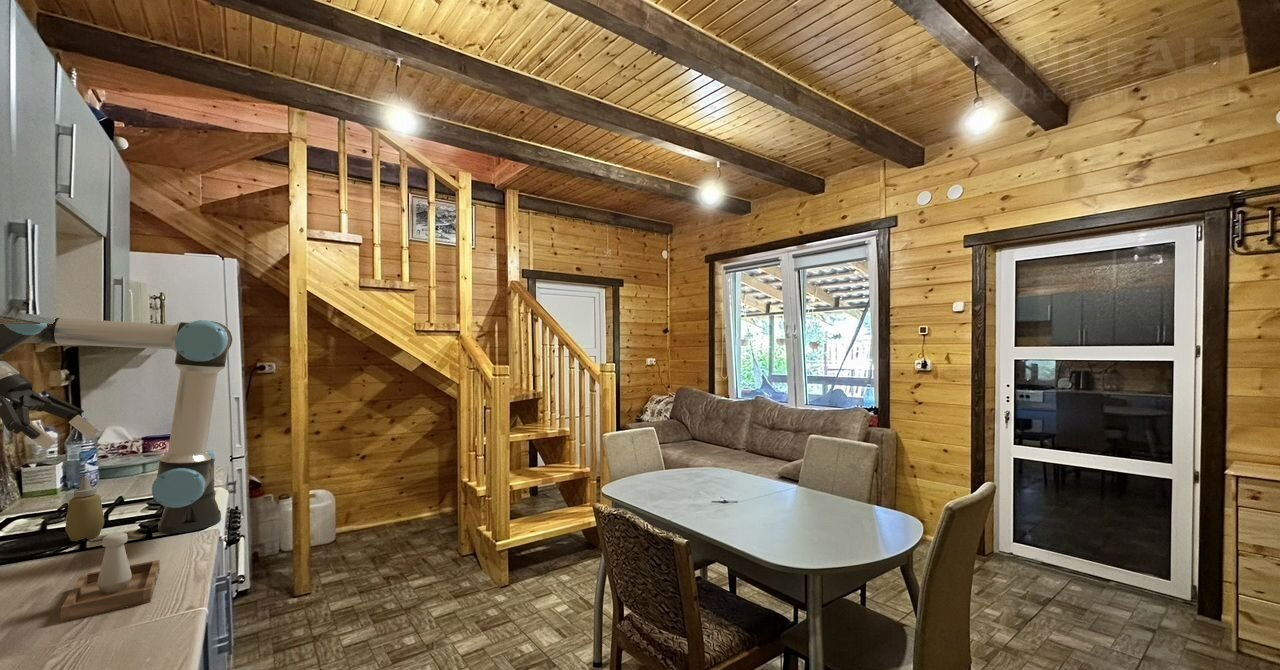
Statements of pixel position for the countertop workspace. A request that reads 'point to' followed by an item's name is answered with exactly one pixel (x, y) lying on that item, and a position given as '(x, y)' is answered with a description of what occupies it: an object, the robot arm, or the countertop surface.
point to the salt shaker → (114, 564)
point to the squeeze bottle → (84, 513)
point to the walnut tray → (93, 601)
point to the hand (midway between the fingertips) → (73, 440)
